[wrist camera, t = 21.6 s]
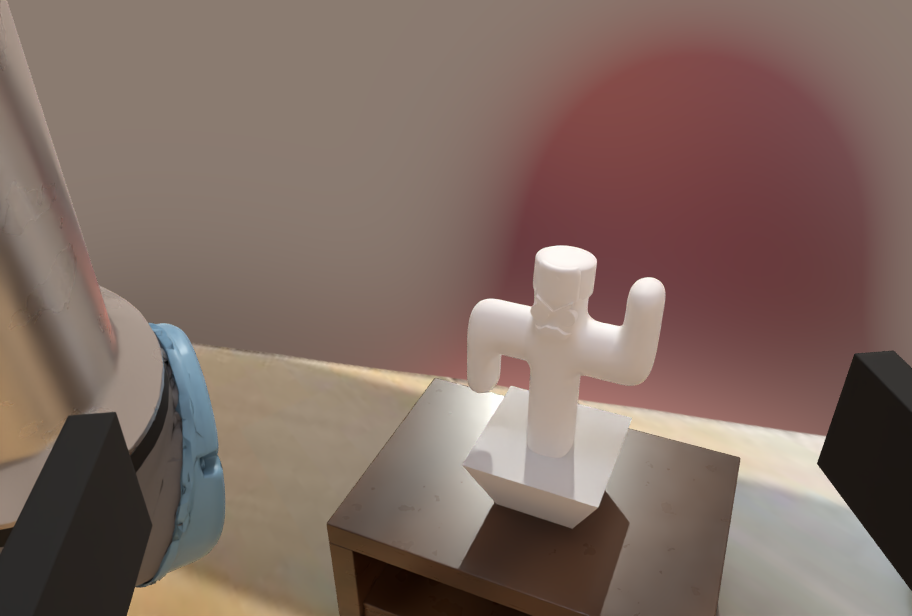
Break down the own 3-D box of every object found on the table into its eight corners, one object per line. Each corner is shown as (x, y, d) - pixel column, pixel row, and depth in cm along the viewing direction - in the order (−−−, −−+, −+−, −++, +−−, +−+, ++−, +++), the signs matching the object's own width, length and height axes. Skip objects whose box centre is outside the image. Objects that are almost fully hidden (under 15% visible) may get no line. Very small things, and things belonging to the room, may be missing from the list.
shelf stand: (342, 636, 46) (326, 523, 40) (437, 482, 57) (434, 377, 51) (675, 773, 39) (709, 658, 34) (711, 568, 50) (740, 457, 44)
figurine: (492, 427, 47) (497, 207, 39) (643, 471, 43) (683, 240, 35) (443, 508, 41) (438, 270, 33) (612, 565, 38) (651, 316, 30)
